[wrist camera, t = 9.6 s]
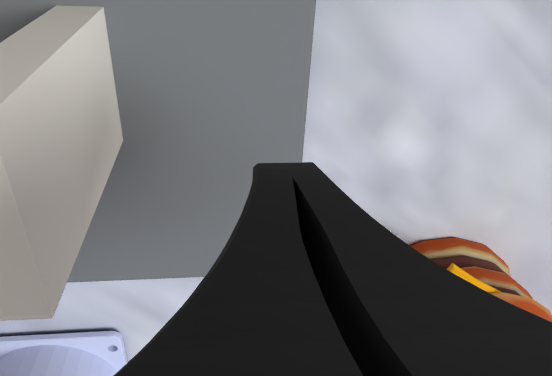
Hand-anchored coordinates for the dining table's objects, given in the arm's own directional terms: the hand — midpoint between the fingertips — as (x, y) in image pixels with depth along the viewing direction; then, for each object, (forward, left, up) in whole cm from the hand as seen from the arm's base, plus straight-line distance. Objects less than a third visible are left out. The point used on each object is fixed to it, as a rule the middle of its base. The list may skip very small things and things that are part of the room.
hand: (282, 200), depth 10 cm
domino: (0, +6, -8) cm, 10 cm away
